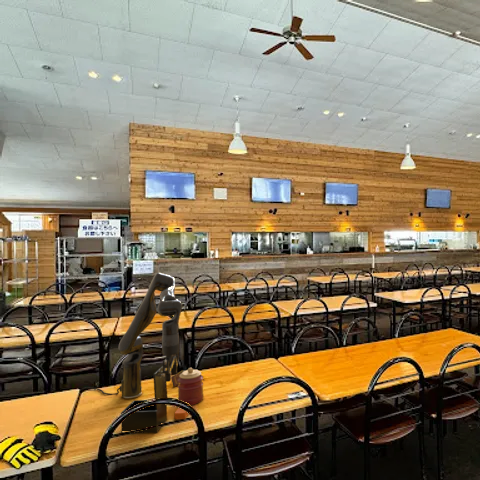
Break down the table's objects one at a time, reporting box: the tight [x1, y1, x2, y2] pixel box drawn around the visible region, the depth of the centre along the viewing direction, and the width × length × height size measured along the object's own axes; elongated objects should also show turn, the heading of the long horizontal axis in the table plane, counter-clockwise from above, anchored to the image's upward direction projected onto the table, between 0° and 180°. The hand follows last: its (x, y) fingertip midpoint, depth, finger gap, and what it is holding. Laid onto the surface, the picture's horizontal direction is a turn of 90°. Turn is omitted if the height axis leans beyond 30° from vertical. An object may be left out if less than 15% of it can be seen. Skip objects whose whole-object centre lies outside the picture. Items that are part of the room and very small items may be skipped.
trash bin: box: [120, 399, 168, 435], centre depth 176 cm, size 16×13×10 cm
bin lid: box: [152, 365, 172, 410], centre depth 176 cm, size 16×13×5 cm
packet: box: [174, 407, 189, 420], centre depth 186 cm, size 8×5×3 cm, turn 2°
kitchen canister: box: [177, 367, 204, 406], centre depth 203 cm, size 13×13×18 cm
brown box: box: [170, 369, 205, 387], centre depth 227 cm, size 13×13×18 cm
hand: (171, 377), depth 176 cm, fingers open, 8 cm apart
